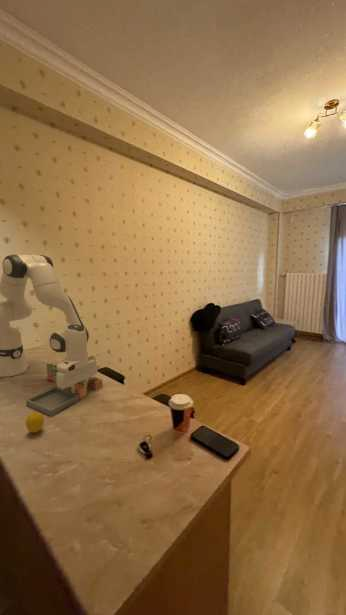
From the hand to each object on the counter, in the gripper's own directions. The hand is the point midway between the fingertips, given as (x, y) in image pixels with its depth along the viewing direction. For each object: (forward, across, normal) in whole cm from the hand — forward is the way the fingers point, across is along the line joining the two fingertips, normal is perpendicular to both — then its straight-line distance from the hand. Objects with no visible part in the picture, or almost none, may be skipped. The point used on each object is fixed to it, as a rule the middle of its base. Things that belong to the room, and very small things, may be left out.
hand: (79, 390), depth 121 cm
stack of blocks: (+3, -8, -17) cm, 19 cm away
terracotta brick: (+3, 0, 0) cm, 3 cm away
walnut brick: (+3, -10, 0) cm, 10 cm away
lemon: (+3, +26, +8) cm, 28 cm away
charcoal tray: (+3, +10, -4) cm, 11 cm away
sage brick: (+3, 0, -9) cm, 10 cm away
